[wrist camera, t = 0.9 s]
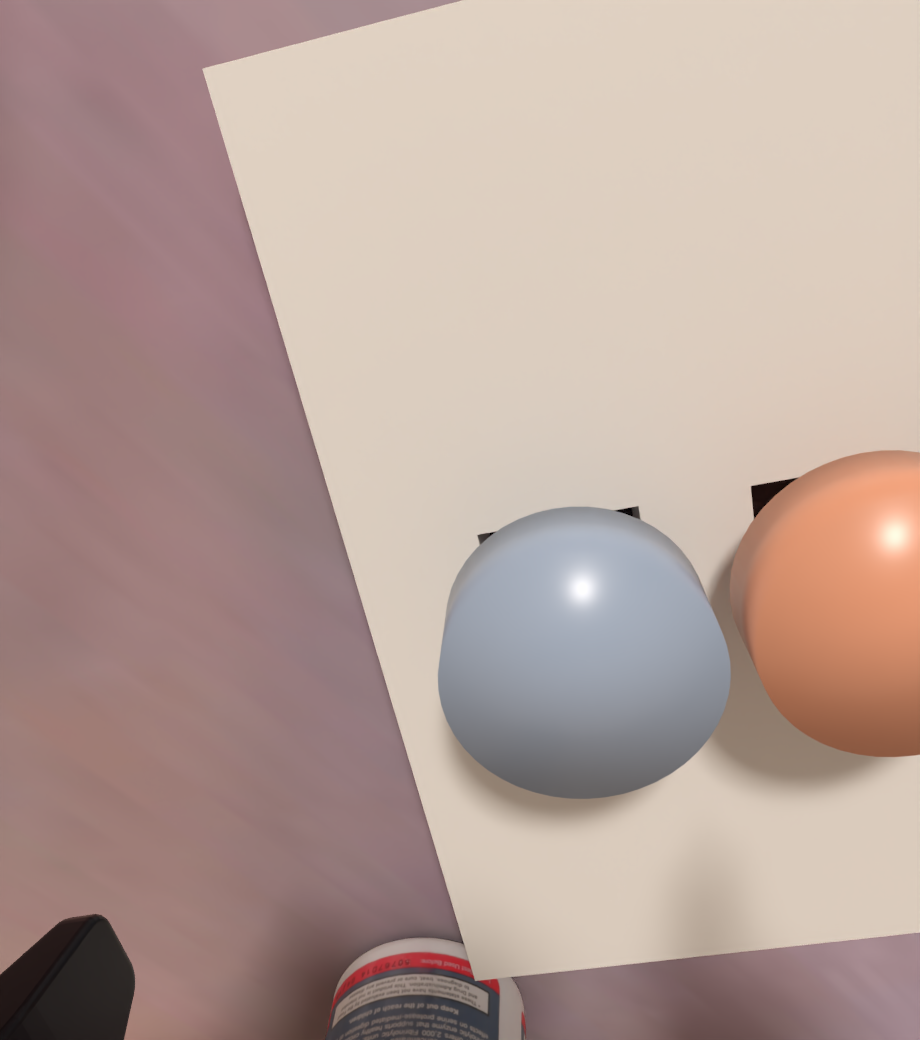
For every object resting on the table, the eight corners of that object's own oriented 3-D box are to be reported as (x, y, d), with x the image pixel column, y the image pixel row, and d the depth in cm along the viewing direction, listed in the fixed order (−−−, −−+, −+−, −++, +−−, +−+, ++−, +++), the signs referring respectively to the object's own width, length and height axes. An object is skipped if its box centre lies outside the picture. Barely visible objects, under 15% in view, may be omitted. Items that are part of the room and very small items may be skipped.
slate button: (672, 447, 16) (714, 528, 13) (700, 659, 18) (744, 778, 15) (427, 493, 17) (407, 581, 13) (478, 693, 18) (471, 815, 15)
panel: (1394, -224, 13) (1539, -283, 11) (1232, 823, 21) (1302, 890, 19) (239, 76, 15) (202, 68, 14) (478, 913, 23) (475, 981, 21)
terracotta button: (960, 394, 15) (1084, 464, 12) (961, 619, 17) (1068, 735, 14) (695, 443, 16) (742, 524, 13) (721, 656, 18) (768, 775, 14)
